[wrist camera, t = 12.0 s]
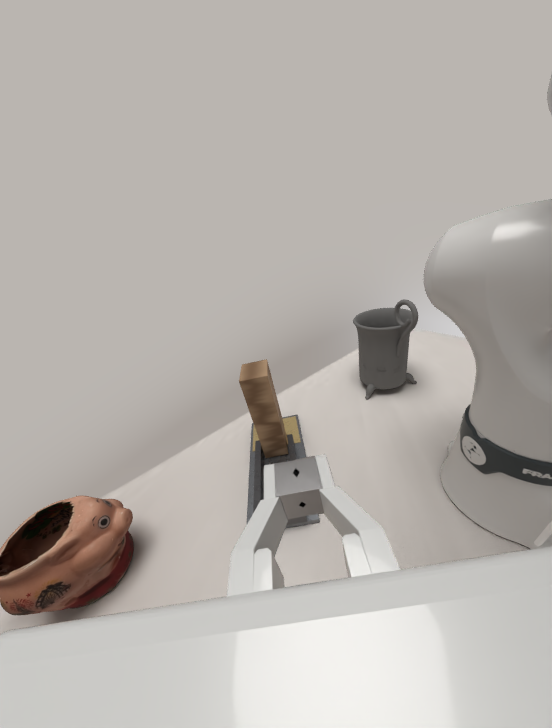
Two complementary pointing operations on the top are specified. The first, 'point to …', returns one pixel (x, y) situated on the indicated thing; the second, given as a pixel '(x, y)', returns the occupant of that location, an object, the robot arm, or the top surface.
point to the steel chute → (259, 461)
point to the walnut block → (264, 407)
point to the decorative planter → (65, 555)
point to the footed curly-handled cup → (385, 346)
